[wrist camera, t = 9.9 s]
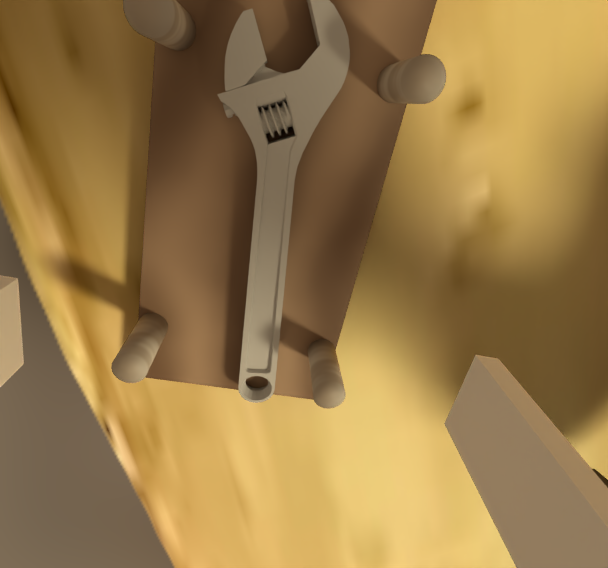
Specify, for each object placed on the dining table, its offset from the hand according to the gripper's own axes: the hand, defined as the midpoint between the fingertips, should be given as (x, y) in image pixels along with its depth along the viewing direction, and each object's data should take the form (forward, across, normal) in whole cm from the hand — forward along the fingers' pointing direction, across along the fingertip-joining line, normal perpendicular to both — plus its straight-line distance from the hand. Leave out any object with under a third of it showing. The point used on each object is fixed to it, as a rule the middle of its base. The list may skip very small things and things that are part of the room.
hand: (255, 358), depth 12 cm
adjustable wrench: (+15, +1, 0) cm, 15 cm away
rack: (+16, +1, 0) cm, 17 cm away
